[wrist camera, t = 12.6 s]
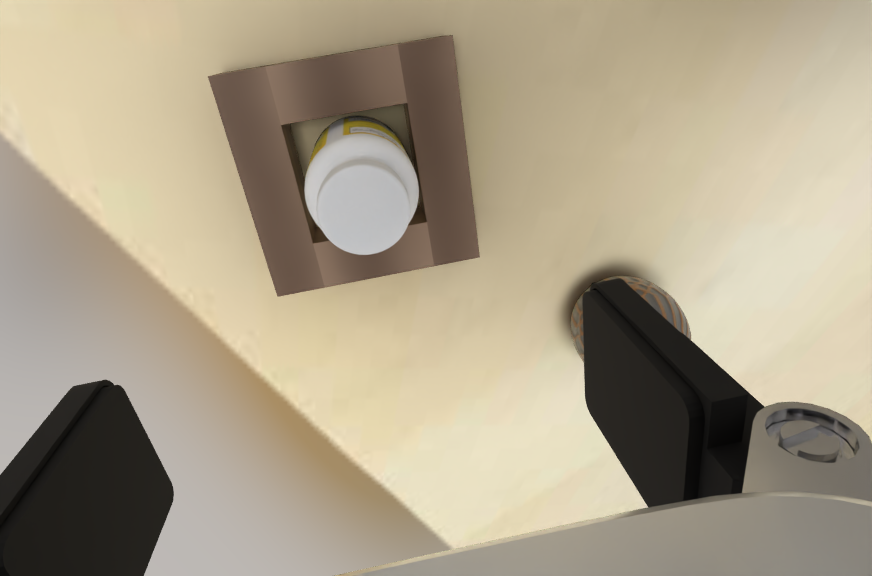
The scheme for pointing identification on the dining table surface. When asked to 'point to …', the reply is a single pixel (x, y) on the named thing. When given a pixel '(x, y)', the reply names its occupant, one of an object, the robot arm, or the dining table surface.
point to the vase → (647, 292)
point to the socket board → (334, 95)
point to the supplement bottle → (361, 185)
